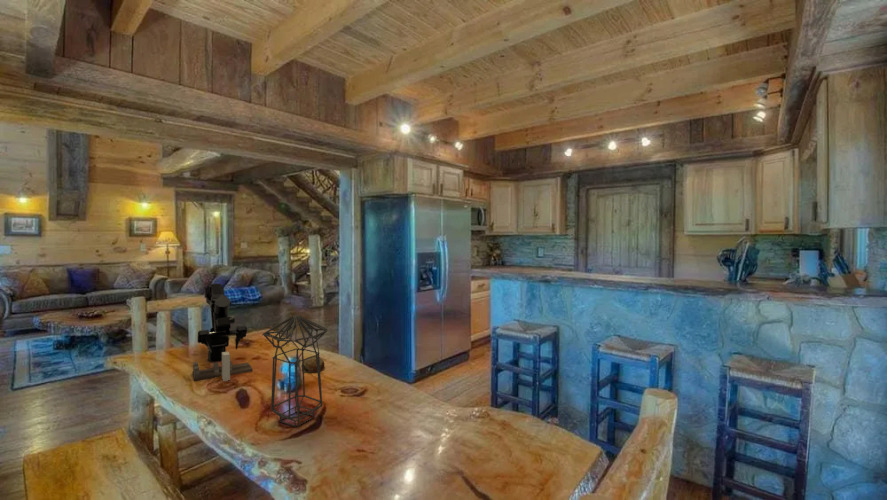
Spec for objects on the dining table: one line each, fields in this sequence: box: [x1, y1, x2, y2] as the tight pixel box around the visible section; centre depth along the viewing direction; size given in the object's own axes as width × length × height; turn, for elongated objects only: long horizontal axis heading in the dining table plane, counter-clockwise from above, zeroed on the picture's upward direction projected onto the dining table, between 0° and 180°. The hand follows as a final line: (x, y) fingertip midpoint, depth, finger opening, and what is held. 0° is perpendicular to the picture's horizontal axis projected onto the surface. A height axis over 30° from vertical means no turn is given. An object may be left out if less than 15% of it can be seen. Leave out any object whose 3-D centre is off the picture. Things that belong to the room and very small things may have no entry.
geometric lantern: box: [261, 314, 329, 428], centre depth 127 cm, size 16×16×35 cm
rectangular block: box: [221, 351, 233, 382], centre depth 163 cm, size 5×3×11 cm, turn 36°
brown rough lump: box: [301, 355, 325, 374], centre depth 177 cm, size 10×10×8 cm
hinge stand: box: [192, 359, 253, 382], centre depth 172 cm, size 11×22×5 cm, turn 126°
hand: (224, 350), depth 166 cm, fingers open, 9 cm apart
